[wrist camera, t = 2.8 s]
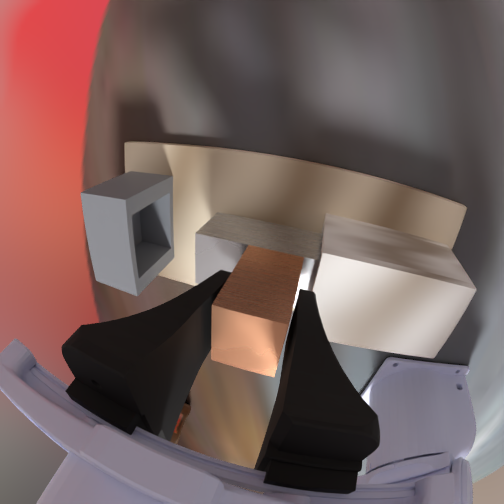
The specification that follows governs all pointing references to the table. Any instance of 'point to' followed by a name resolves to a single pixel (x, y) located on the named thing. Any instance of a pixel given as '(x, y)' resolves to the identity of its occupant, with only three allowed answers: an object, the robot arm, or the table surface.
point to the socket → (130, 229)
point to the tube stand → (330, 238)
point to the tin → (180, 423)
